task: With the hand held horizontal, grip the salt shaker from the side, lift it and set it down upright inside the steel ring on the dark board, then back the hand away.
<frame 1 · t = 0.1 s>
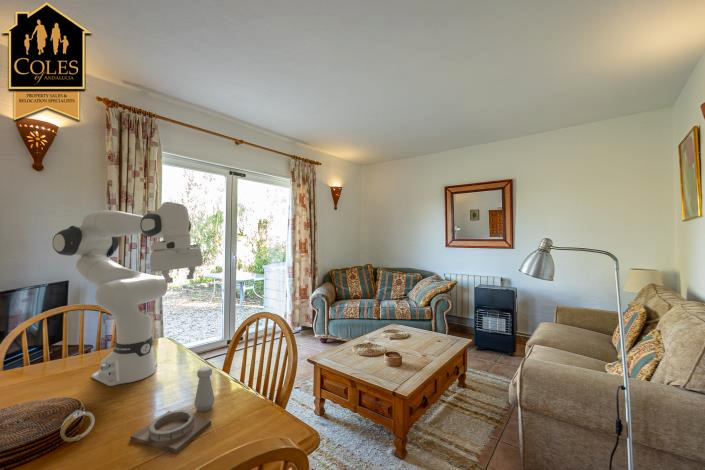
hand: (180, 280, 111), 39 cm above the table, tool pointing down, fingers open, 8 cm apart
ring stand: (172, 432, 84), on the table
bracelet: (78, 440, 81), on the table
salt shaker: (204, 409, 96), on the table
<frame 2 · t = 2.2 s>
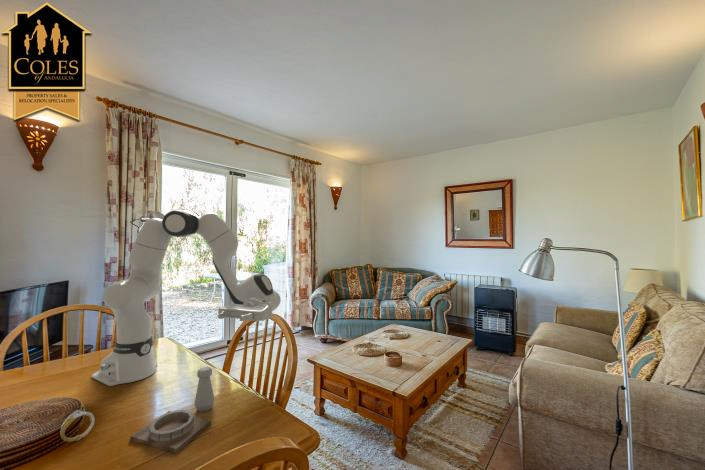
hand: (230, 317, 107), 26 cm above the table, tool horizontal, fingers open, 8 cm apart
nothing on the table moved.
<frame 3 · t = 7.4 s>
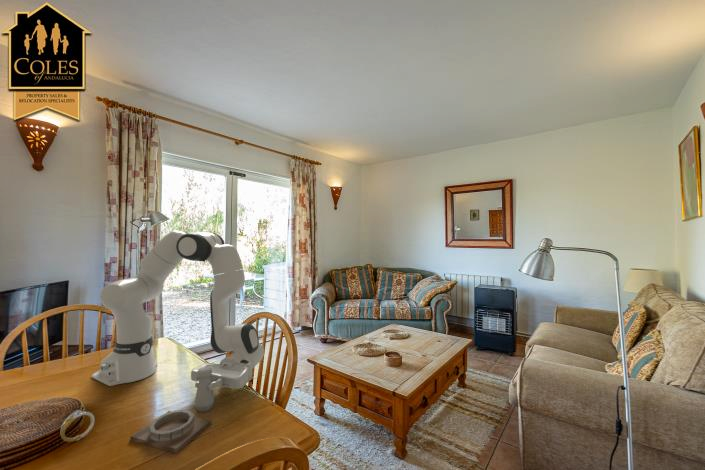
hand: (202, 386, 95), 8 cm above the table, tool horizontal, fingers closed on salt shaker, 3 cm apart
salt shaker: (204, 409, 96), on the table, touching gripper
everything else where it was.
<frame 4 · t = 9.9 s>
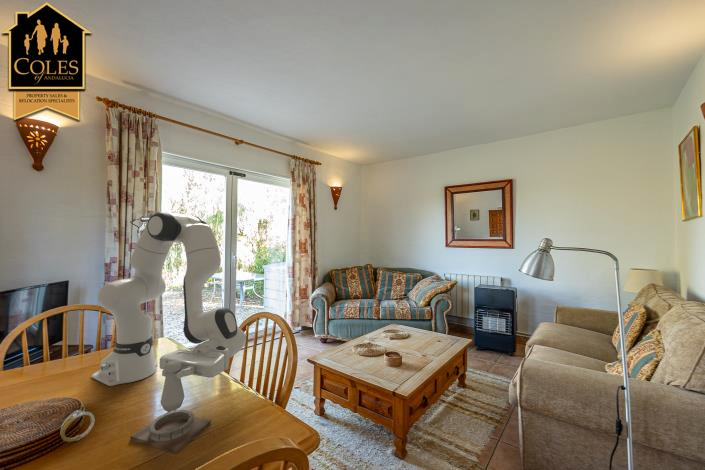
hand: (169, 375, 83), 17 cm above the table, tool horizontal, fingers closed on salt shaker, 3 cm apart
salt shaker: (172, 408, 84), point 7 cm above the table, touching gripper
everything else where it was.
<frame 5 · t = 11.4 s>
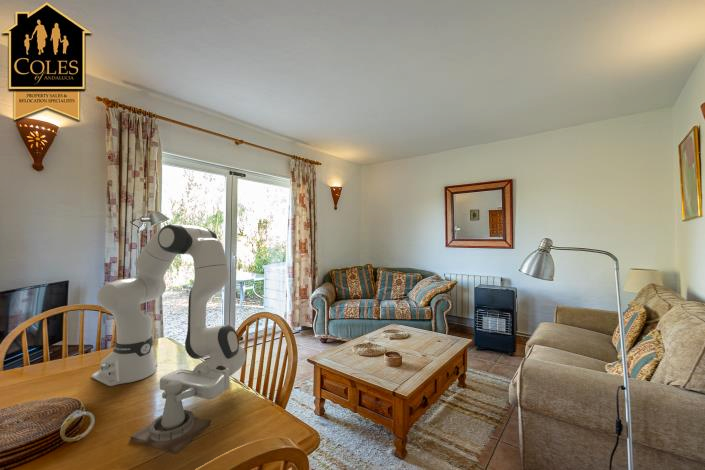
hand: (170, 397, 83), 10 cm above the table, tool horizontal, fingers closed on salt shaker, 3 cm apart
salt shaker: (173, 428, 84), point 1 cm above the table, touching gripper, ring stand
everything else where it was.
when the fingers open (10 cm above the table, at t = 11.6 s): salt shaker stays where it is, resting on ring stand.
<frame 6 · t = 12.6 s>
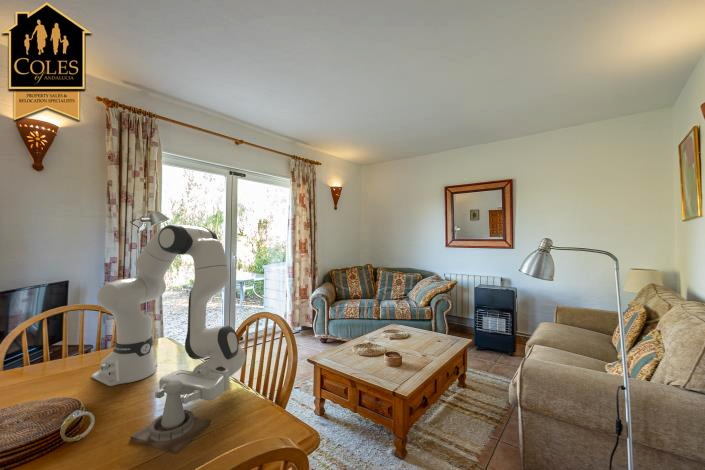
hand: (169, 398, 83), 10 cm above the table, tool horizontal, fingers open, 8 cm apart
salt shaker: (173, 428, 84), point 1 cm above the table, touching ring stand
everything else where it was.
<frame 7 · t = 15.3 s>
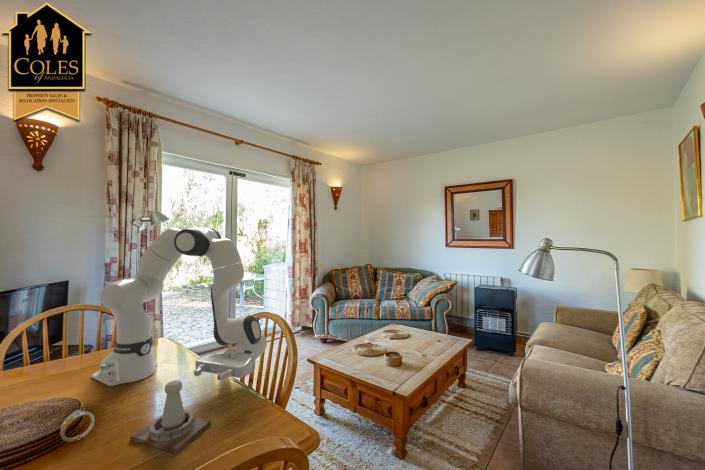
hand: (207, 375, 97), 10 cm above the table, tool horizontal, fingers open, 8 cm apart
nothing on the table moved.
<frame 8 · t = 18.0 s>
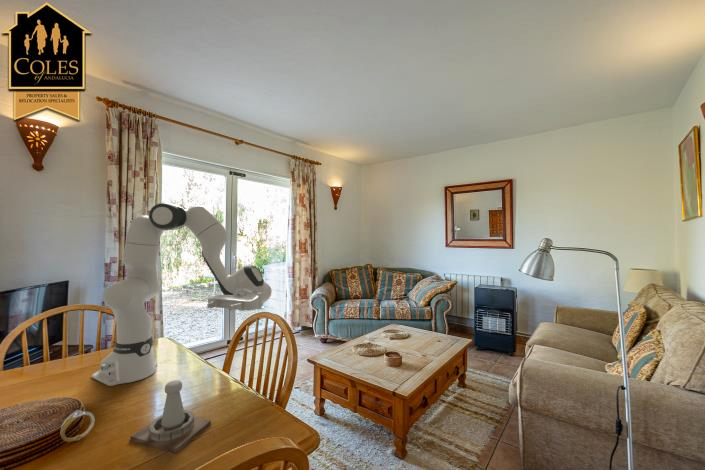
hand: (219, 307, 107), 30 cm above the table, tool horizontal, fingers open, 8 cm apart
nothing on the table moved.
at the end: salt shaker 0.2 cm off-centre on the ring stand, point 1.0 cm above the ring stand's base; salt shaker tilted 0°; the gripper is holding nothing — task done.
